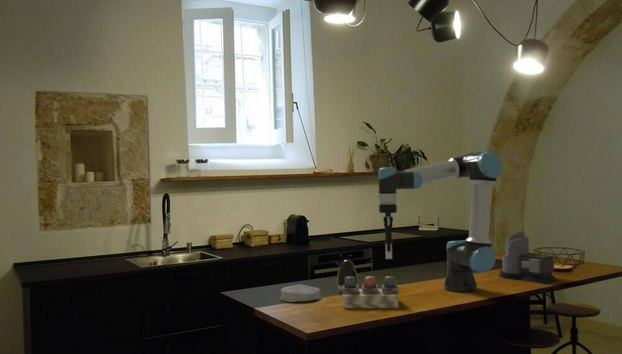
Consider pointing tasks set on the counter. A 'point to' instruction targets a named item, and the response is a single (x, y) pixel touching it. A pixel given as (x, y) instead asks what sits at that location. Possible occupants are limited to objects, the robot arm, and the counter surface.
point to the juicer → (526, 262)
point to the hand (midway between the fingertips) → (388, 258)
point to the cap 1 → (350, 282)
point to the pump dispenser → (345, 273)
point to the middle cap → (369, 281)
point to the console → (370, 297)
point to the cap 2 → (389, 281)
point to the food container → (299, 293)
